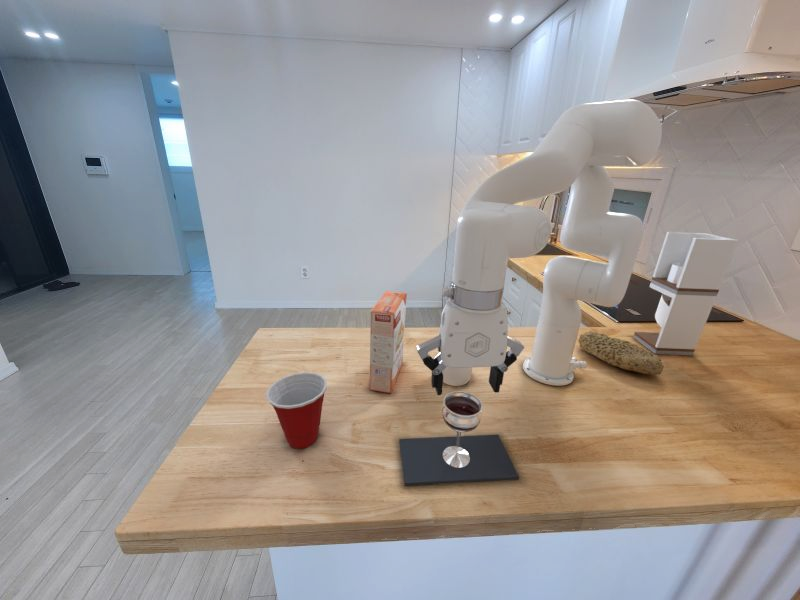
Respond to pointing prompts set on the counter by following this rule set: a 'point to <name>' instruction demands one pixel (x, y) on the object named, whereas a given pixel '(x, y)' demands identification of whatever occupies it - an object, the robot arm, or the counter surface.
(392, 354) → the cracker box
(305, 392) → the plastic cup
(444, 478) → the placemat
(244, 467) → the counter surface
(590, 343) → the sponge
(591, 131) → the robot arm
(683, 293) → the white shelf stand
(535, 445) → the counter surface
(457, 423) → the wineglass
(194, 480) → the counter surface
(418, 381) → the counter surface
